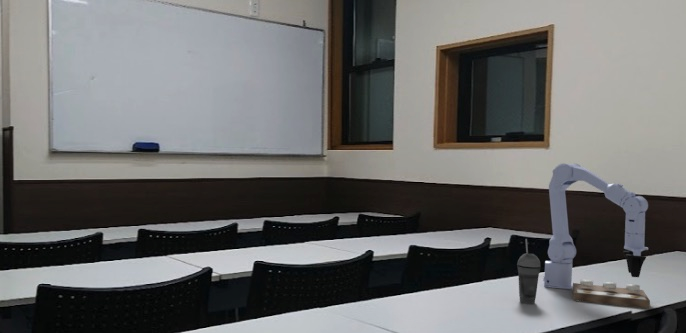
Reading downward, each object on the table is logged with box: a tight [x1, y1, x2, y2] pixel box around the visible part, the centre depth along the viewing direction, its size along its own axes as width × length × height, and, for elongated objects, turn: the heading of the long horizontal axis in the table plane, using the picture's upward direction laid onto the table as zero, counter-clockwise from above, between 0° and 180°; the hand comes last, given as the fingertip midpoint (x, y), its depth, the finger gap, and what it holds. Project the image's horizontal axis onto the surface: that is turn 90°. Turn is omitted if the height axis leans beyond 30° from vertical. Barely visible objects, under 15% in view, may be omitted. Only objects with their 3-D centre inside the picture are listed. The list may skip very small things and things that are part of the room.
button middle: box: [602, 281, 617, 289], centre depth 197 cm, size 4×4×2 cm
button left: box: [579, 278, 594, 287], centre depth 200 cm, size 4×4×2 cm
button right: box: [625, 283, 641, 292], centre depth 195 cm, size 4×4×2 cm
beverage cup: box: [516, 238, 542, 305], centre depth 189 cm, size 7×7×20 cm
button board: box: [572, 282, 651, 310], centre depth 197 cm, size 22×16×3 cm
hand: (633, 274), depth 195 cm, fingers open, 7 cm apart
